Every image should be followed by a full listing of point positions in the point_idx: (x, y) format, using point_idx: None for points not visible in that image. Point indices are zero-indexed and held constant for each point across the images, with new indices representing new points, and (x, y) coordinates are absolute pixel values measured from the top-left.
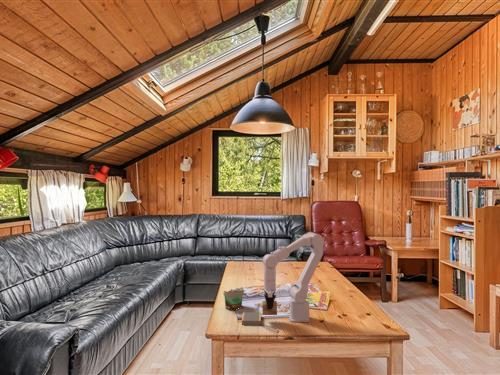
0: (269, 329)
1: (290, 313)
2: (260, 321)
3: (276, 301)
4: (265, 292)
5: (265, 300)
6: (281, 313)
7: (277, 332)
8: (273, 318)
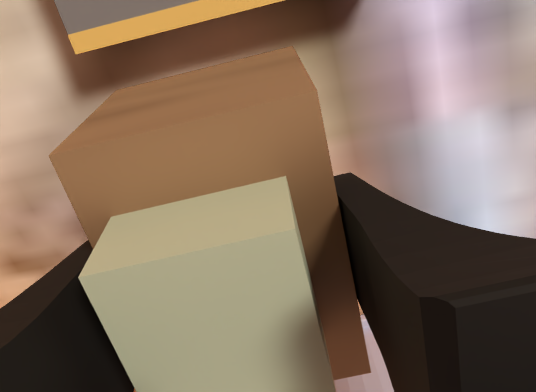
0: (30, 177)
1: (378, 362)
2: (77, 51)
3: (338, 378)
4: (407, 313)
5: (81, 272)
6: (506, 213)
7: (5, 265)
8: (345, 156)
